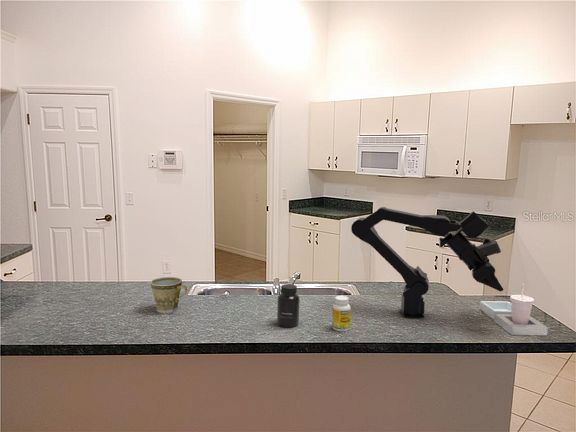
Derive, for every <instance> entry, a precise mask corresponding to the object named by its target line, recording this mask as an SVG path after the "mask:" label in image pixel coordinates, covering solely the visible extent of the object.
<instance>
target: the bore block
mask: <svg viewBox="0 0 576 432" xmlns="http://www.w3.org/2000/svg"><path fill="white" fill-rule="evenodd" d="M493 322H494V323H495V324H497V325H498V326H499V327H501V328H502V329H503V330H504V331H505V332H507V333H508V334H509V335H511V336H547V335H548V329H549V328H548V326H546V325H545V324H543V323H542V322H540V321H538V320H537V319H536V318H533V317H532V316H531V315H530V317H529V321H528V325H521V324H514V323H513V322H512V314H495V316H494V320H493Z"/></svg>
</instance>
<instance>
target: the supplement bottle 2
mask: <svg viewBox="0 0 576 432" xmlns="http://www.w3.org/2000/svg"><path fill="white" fill-rule="evenodd" d="M349 300H350V299H349V297H348V296H346V295H337V296H335V297H334V302H335V303H333V305H332V325H331V326H332V329H333V330H334V331H337V332H348V331H349V330H351V329H350V328H351V313H352V312H351V305H350V304H349Z"/></svg>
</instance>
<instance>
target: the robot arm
mask: <svg viewBox="0 0 576 432" xmlns="http://www.w3.org/2000/svg"><path fill="white" fill-rule="evenodd" d="M382 221H387V222H392V223H397V224H403V225H406V226H410V227H416V228H420V229H422V230H425V231H427V232H429V233H432V234H433V235H435V236H441V237H439V248H443V247H444V246H445V245H446V246H447V247H448V248H449V249H450V250H451V251H452V252H453V253H454V254H455V255H456V256H457V257H458V259H459V261H461V262H463V264H465V266H466V267H467V269H468V270H469V271H471V275H472V278H473V279H474V280H475V281H476V282H477V283H479V284H483V285H485V286H488V287H490V288H491V289H494V290H495V291H498V292H503V291H504V288H503V286H502V285H501V283H500V281H499V279H498V278H497V276H496V275H495V274H496V269H495V267H494V265H493V264H492V263H491V262H490V258H488V257H489V256H492V255H495V254H496V255H497V254H500V253H501V252H502V249H501V248H500V246H499V243H498V241H497V240H494V239H492V240H491V239H490V238H488V237H487V238H483V239H482V243H481V244H480V245H478V246H477V245H476V244H475V243H472V242H471V241H470V240H469V239H475V240H476V239H477V238H478V237H480V236H481V235H482V234H484V233H485V232H486V231H487V230H489V229H490V228H491V226H490V225H489V224H488V223H487V222H486V221H485V220H484V219H483V218H482V217H480V216H479V215H478V213H476V212H475V211H473V210H472V211H471V212H470V213H469V214H468V215H467V216H466V217H464V219H463V220H461V221H457V220H453V219H449V218H448V217H447V216H446V215H442V214H441V215H439V214H438V215H437V214H429V215H428V214H427V215H426V214H425V215H424V214H417V213H413V212H407V211H403V210H397V209H392V208H387V207H386V206H381V207H379V208H378V209H377V210H376V211H373V213H371V214H369V215H368V216H366V217H358V218H357V219H356V220H355V221H353V223H352V224H351V226H350V227H351V233H352V234H353V235H354V236H355V237H356V238H358V239H359V240H361V241H362V242H363V243H366V244H367V245H370V246H371V247H372V248H373V249H374V250H375V251H376V252H377V253H378V254H379V255H380V256H381V257H382V258H383V259H384V260H385V261H386V262H387V263H388V264H389V265H390V266H391V267H392V268H393V269H394V270H396V272H397V273H398V274H399V275H400V276H401V277H402V279H403V281H404V283H405V285H404V287H403V291H402V294H401V305H400V306H401V308H400V309H399V312H400V314H402V316H403V317H404V318H410V319H411V318H413V319H415V318H420V319H421V318H422V319H423V318H425V315H424V314H425V305H426V304H425V303H426V302H425V301H424V297H423V296H424V295H425V294H427V293H428V292H429V289H430V288H429V287H430V281H429V280H430V279H429V278H428V274H427V273H426V272H424V271H423V270H422V268H421V267H420V266H419V265H417V266H416V268H415V267H413V266H411V265H409V263H408V262H407V261H406V260H404V258H402V256H400V255H399V254H398V253H397V251H395V250H394V249H393V248H392V247H391V246H390V245H389V244H388V243H387V242H386V241H385V240H384V239H383V238H382V237H381V236H380V234H379V232H377V230H376V228H375V226H376V225H378V224H379V223H381V222H382ZM462 232H463V233H462ZM443 236H444V237H443ZM466 236H467V237H468V238H467V237H466Z"/></svg>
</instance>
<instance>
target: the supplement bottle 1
mask: <svg viewBox="0 0 576 432" xmlns="http://www.w3.org/2000/svg"><path fill="white" fill-rule="evenodd" d="M300 300H301V299H300V296H299V295H298V289H297V285H295V284H289V283H287V284H285V283H284V284H282V285H281V286H280V294H279V295H278V296H277V304H276V305H277V306H276V307H277V309H276V311H277V312H276V323H277V325H278V326H279V327H282V328H286V329H287V328H288V329H289V328H295V327H297V326H298V325H299V322H300V305H301V304H300V303H301V301H300Z"/></svg>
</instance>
